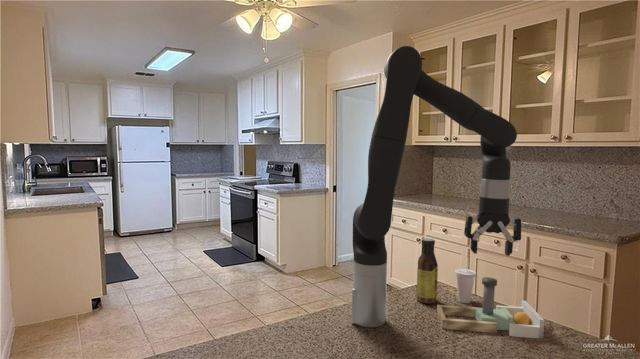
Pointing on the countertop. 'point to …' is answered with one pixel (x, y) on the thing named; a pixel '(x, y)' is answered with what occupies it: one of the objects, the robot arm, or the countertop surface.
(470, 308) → the wooden rectangular frame
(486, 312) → the striker
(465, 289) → the smoothie
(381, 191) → the robot arm
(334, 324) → the countertop surface
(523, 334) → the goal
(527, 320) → the ball
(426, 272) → the sauce bottle
